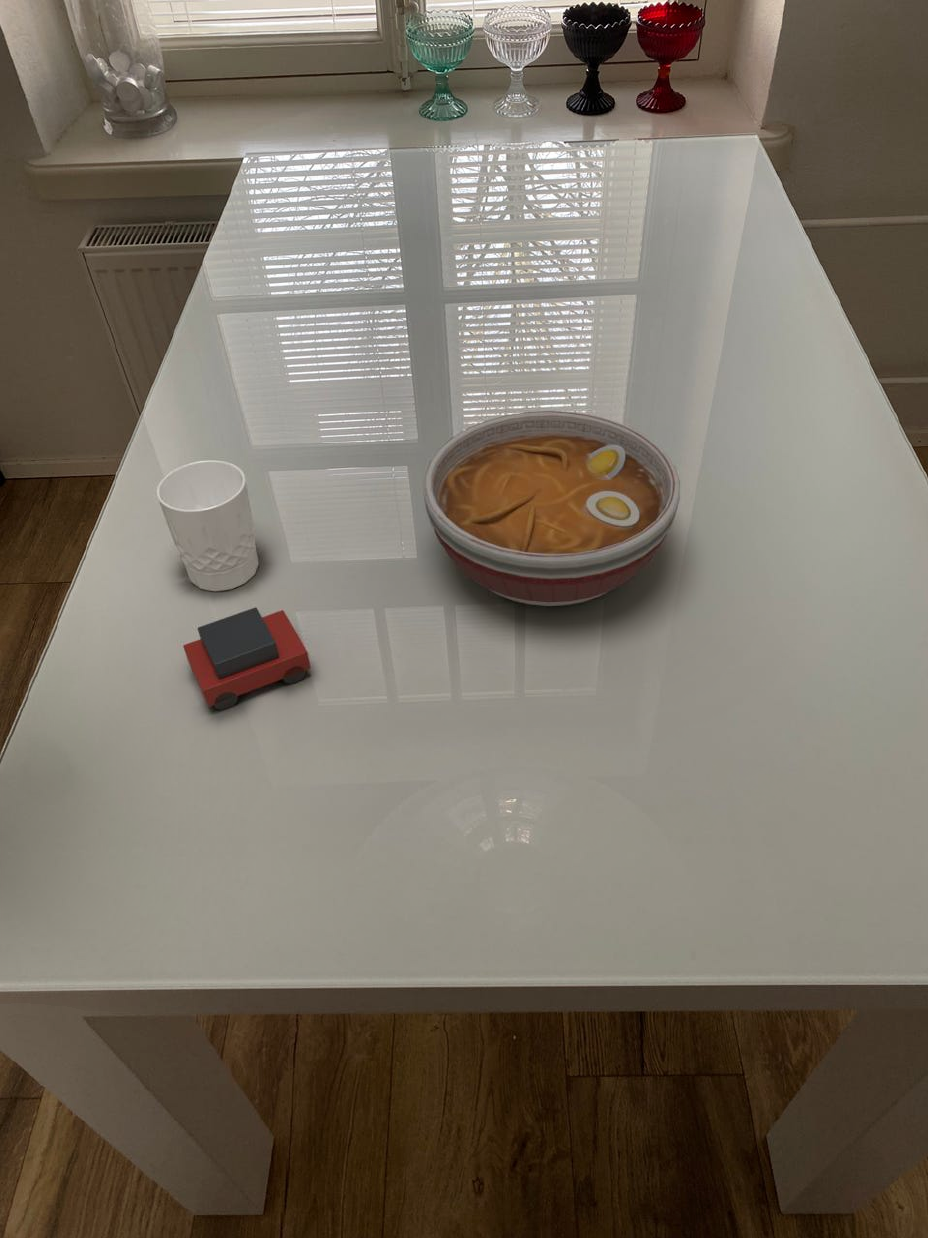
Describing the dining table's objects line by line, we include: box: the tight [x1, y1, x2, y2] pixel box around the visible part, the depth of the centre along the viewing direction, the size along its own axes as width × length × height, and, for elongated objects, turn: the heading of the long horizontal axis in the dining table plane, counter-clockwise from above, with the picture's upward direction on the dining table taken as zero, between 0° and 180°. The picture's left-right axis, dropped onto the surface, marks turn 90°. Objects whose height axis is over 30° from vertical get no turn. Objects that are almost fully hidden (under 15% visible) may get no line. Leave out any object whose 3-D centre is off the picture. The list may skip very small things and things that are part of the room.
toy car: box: [182, 607, 311, 710], centre depth 81 cm, size 9×5×6 cm
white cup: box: [156, 459, 259, 592], centre depth 89 cm, size 8×8×10 cm
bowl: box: [422, 410, 681, 607], centre depth 89 cm, size 23×23×10 cm
